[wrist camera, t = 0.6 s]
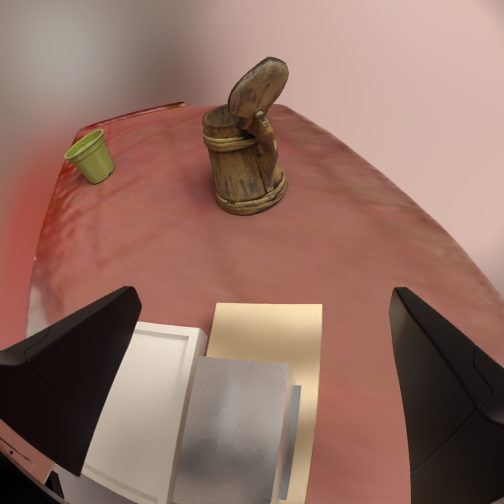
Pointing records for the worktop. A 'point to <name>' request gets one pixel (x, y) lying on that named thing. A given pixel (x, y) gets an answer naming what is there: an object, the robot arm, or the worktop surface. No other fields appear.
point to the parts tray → (146, 414)
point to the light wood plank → (279, 351)
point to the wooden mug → (247, 142)
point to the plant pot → (91, 157)
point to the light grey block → (235, 433)
